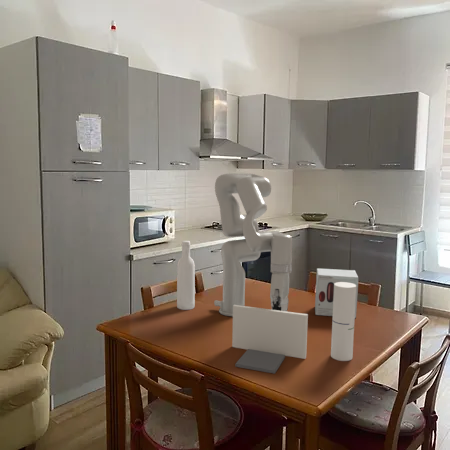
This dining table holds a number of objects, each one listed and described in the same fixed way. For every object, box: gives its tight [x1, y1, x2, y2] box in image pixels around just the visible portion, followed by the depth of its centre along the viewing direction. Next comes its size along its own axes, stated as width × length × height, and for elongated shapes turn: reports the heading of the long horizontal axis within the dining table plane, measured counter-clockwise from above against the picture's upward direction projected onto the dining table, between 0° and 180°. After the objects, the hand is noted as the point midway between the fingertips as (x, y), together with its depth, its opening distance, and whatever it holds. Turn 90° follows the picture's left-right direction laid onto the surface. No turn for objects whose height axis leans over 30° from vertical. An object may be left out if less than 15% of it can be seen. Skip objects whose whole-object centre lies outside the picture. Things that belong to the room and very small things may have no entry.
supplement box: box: [314, 267, 359, 319], centre depth 207 cm, size 17×13×18 cm
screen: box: [231, 305, 309, 360], centre depth 162 cm, size 26×2×15 cm, turn 69°
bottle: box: [176, 240, 196, 311], centre depth 210 cm, size 8×8×30 cm
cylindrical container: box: [330, 282, 356, 362], centre depth 158 cm, size 7×7×25 cm
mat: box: [234, 349, 286, 374], centre depth 155 cm, size 13×13×1 cm
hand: (280, 313), depth 174 cm, fingers open, 9 cm apart
